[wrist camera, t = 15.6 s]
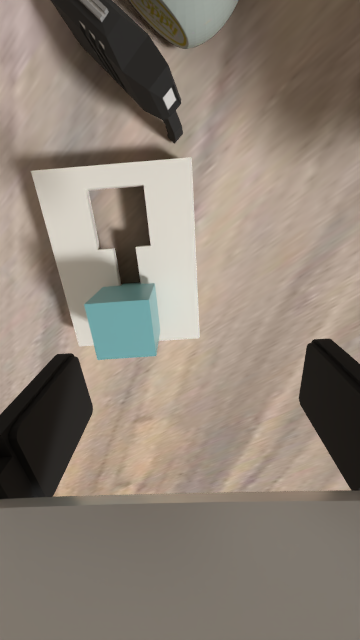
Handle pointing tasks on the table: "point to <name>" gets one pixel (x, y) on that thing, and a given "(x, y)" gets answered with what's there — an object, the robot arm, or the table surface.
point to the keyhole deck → (153, 260)
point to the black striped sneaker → (125, 56)
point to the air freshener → (186, 18)
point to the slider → (124, 321)
